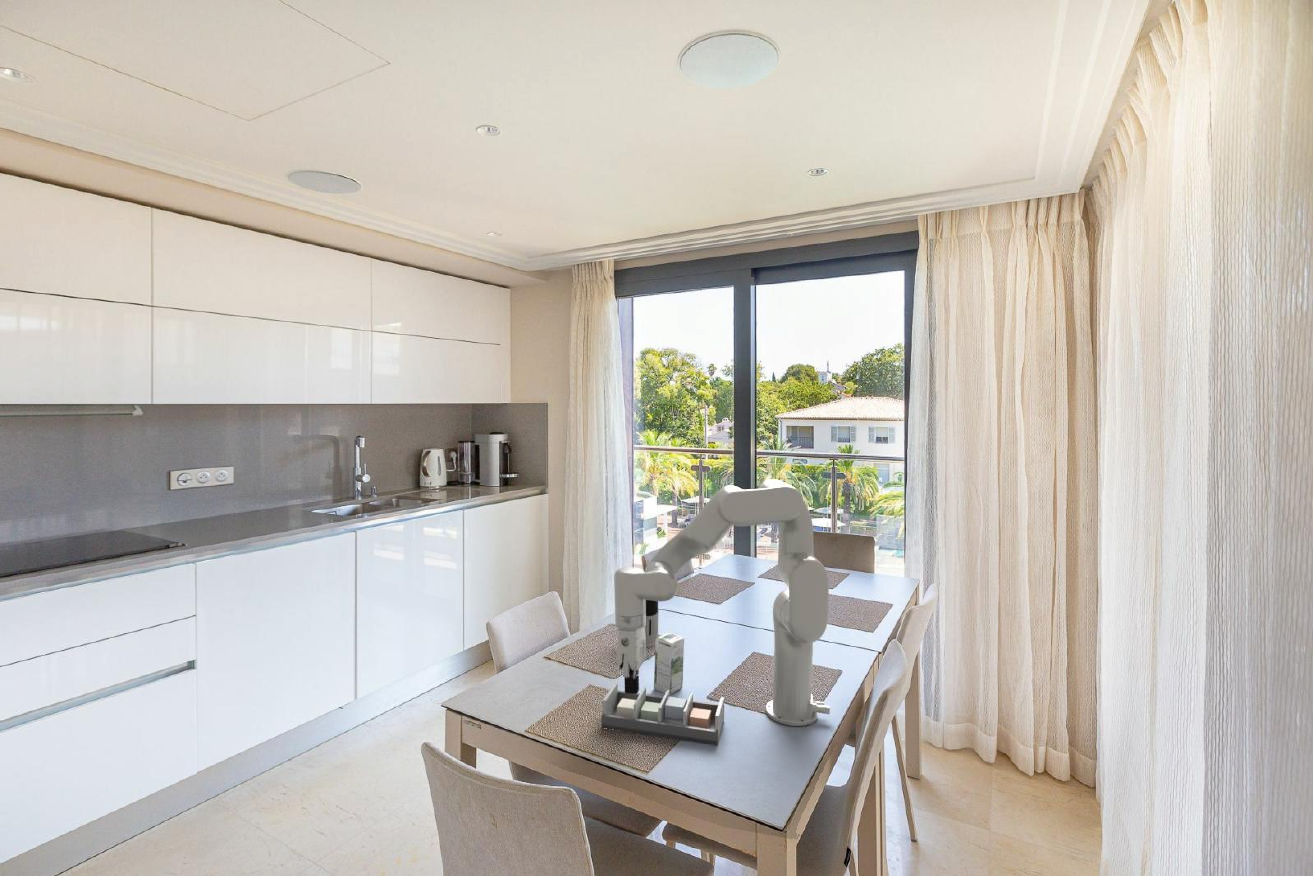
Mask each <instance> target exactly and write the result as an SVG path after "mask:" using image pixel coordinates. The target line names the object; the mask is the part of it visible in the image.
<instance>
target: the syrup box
mask: <svg viewBox="0 0 1313 876" xmlns="http://www.w3.org/2000/svg"><path fill="white" fill-rule="evenodd" d="M654 647H655V650H654V676H653V689H654V690H656V691H658V692H660V693H664V694H665V693H666V691H667V690H669V696H671V695H673V694H675V693H676V692H678V691H680V690H682V688H683V683H684V682H683V679H684V677H683V676H684V656H685V655H684V653H685V652H684V651H685V638H684V637H682V636H680V635H678V634H675V633H671V632H667V633H665V634H663V635H660V636H658V638H656V642H655V646H654Z"/></svg>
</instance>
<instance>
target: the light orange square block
mask: <svg viewBox="0 0 1313 876" xmlns="http://www.w3.org/2000/svg"><path fill="white" fill-rule="evenodd" d="M710 723H711V710H705V709H698V708H693V709H692V712H691V715H690V726H691V727H698V728H705V729H709V726H710Z"/></svg>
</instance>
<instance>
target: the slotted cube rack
mask: <svg viewBox="0 0 1313 876" xmlns="http://www.w3.org/2000/svg"><path fill="white" fill-rule="evenodd" d="M618 685H619V684H618V683H617V682H614V683H613V685H612V686H611V688H610V689H609V691H608V692H607V693H606V695H605V696H604V698H603V699H602V714H601V722H600V723H601V727H600V728H607V729H606V730H608V729H614V730H613V731H615V730H620V731H619V732H622V731H624V732H623V733H628V732H631V733H630V734H635V733H636V734H637V735H642V736H649V737H657V738H662V739H671V740H676V741H682V742H683V741H684V742H690V743H696V744H697V743H698V744H703V745H704V744H705V745H710V746H715V747H716V746H717V747H718V745H719V742H720V738H721V734H722V730H723V726H724V723H725V696H724V697H723V696H721V697H720V699H719V702H718V703H716V702H707V701H699V700H694V692H692V693H690V694H689V696H688V699H687V703H686V706H685V708H684V711H683V720H681V719H673V718H666V717H665V704H666V702H667V700H668V698H669V697H670V695H669V690H667V691H666V693H664V695H663V696H661V695H656V694H655V695H654V694H647V687H646V686H643V688H642V690H641V691H640V692H638V693H637V694H629V693H625V690H624V691H623V690H618V689H619V688H618ZM622 698H624V699H631V700H636V701H635V703H634V716H633V718H628V717H621V716H617V706H618V704H619V702H620V701H621V699H622ZM645 701H646V702H654V703H660V705H659V707H658V722H656V721H649V720H642V719H641V708H642V707H643V705H644V703H645ZM693 708H698V709H705V710H711V723H710V726H709V729H705V728H698V727H691V726H690V715H691V712H692V709H693Z"/></svg>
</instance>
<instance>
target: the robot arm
mask: <svg viewBox="0 0 1313 876" xmlns="http://www.w3.org/2000/svg"><path fill="white" fill-rule="evenodd" d="M812 520H813V519H812V516H811V512H810V510H809V508H808V506H807V504H806V503H805V501H804V497H803V495H802V493H801V492H800V491H799V489H798V488H796V487H795V486H793V485H791V484H788V483H787V482H784V481H782V480H780V479H773V478H771V479H767V480H765V481H763V482H762V483H761V484H760V485H759V487H758V488H755V489H742V488H740V487H739V486H735V485H732V484H731V485H725V486H723V487H721V488H719V490H718V491H716V492H715V494H714V495H713V496H712V497H711V498H710V499H709V500H708V502H707V503H705V505H704V506H703V507H702V509H701V510H700V511H699V512H698V513H697V514H696V515H695V516H694V517H693V519H692V520H691V521H690V522H689V523H688V524H686V527H684V528H683V529H682V530H680V531H679V532H678V533H677V534H675V535H674V536H673V537H672V538H671V539H669V540H668V541H667V542H666V543H665V544H663V546H662V547H661V548H660V549H659V550H658V551H657V553H656V554H655V555H654V556H653V558H651V560H650V561H649V563H648V564H647V565H646V567H645V568H644V570H643V569H641V568H640V567H635V566H626V567H621V568H618V569H617V570H616V571H615V573H614V576H613V577H614V579H613V580H614V581H613V582H614V584H613V586H614V587H613V588H614V625H615V628H617V632H618V633H617V668H618V670H622V678H624V691H625V693H629V694H637V693H639V691H640V676H639V674H640V668H641V667H642V665H643V663H644V661H645V660H646V658H647V647H646V636H645V626H646V602H645V600H652V601H658V602H667V601H670V600H672V599H674V597H675V596H676V594H677V593H678V590H679V583H678V579H677V577H676V575H678V573H679V571H681V570H682V569H683V568H684V567H685V565H686V564H687V563H689V562H690V561H691V560H692V559H694V558H695V557H698V556H700V555H704V554H708V553H710V552H712V551H713V550H714V549H716V547H717V545H718V544H719V543H720V542H721V541H722V540H723V539H724V538H725V536H726V535H727V534H728V532H730V531H731V530H732V529H733V528H734V527H751V526H753V527H754V526H760V525H769V524H777V532H778V533H777V534H778V552H777V554H778V555H777V575H779V578H780V579H781V581H782V582H783V583H784V585H786V586H787V587H788V589H784V590H782V591H781V592H779V594H777V596H776V597H775V599H774V601H773V603H772V604H773V605H772V621H773V632H774V633H773V634H774V637H773V638H774V639H773V640H774V642H773V643H774V644H773V645H774V646H773V647H774V648H773V670H772V673H773V674H772V700H770V701H769V702H767V704H766V706H765V713H766V715H767V716H768V717H769V718H770V719H771V720H773V721H775V722H777V723H779V724H782V725H786V726H790V727H804V726H808V725H811V724H813V723H815V722H816V721H817V718H818V713H819V714H823V715H830V713H831V712H830V709H831V707H830V705H825V701H816V700H815V699H813V694H812V684H813V656H814V653H813V652H814V643H815V642H817V641H819V640H820V639H821V638H822V637H823V636H824V634H825V632H826V630H827V626H828V620H829V619H828V618H829V592H830V591H829V589H830V587H829V582H830V581H829V575H828V572H827V570H826V567H825V566H824V564H823V563H822V562H821V561H820V560H818V559H817V558H816V557H815V553H814V551H815V549H814V525H813V521H812Z"/></svg>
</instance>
